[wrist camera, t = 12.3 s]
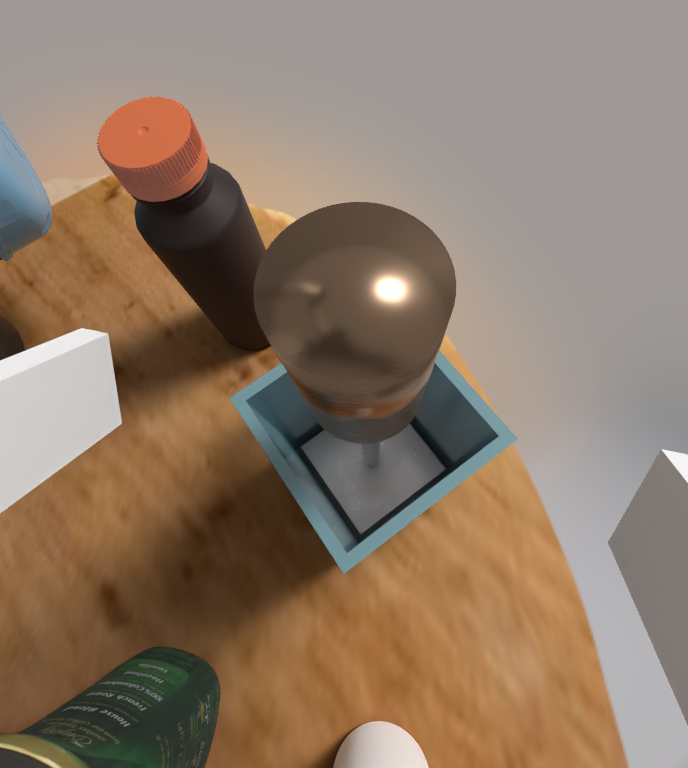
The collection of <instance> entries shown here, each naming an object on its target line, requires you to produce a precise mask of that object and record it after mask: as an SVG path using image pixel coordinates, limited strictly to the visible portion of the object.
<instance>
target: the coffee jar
mask: <svg viewBox="0 0 688 768" xmlns="http://www.w3.org/2000/svg"><path fill="white" fill-rule="evenodd" d="M219 701H220V685H219V681H218V678H217V675H216V673H215V671H214V670H213V668H212V667H211V666H210V665H209V664H208V663H207V662H206V661H205V660H203V659H202V658H200V657H198V656H196V655H194V654H191V653H188V652H185V651H182V650H179V649H175V648H168V647H153V648H150V649H147V650H145V651H143V652H141V653H139V654H138V655H136V656H134V657H133V658H131V659H130V660H128V661H126V662H125V663H123V664H122V665H120V666H119V667H117V668H116V669H115V670H113V671H112V672H110V673H109V674H108V675H106V676H105V677H103V678H102V679H101V680H99V681H98V682H97V683H95V684H94V685H92V686H91V687H89V688H88V689H86V690H85V691H84V692H82V693H81V694H79V695H78V696H76V697H75V698H73V699H72V700H70V701H69V702H67V703H66V704H64V705H62V706H61V707H59V708H58V709H56V710H55V711H53V712H52V713H50V714H49V715H47V716H46V717H44V718H43V719H41V720H40V721H38V722H37V723H35V724H34V725H32V726H30V727H29V728H27V729H25V730H23V731H21V732H19V733H17V734H7V735H0V768H204V767H205V764H206V761H207V758H208V754H209V751H210V747H211V743H212V740H213V736H214V731H215V727H216V722H217V716H218V709H219Z"/></svg>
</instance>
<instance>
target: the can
mask: <svg viewBox="0 0 688 768" xmlns="http://www.w3.org/2000/svg"><path fill="white" fill-rule="evenodd" d="M333 768H428V764H427V761H426V759H425V756H424V754H423V752H422V750H421V748H420V747H419V745H418V744H417V742H416V741H415V740H414V739H413V738H412V736H411V735H410V734H408V733H407V732H406V731H405V730H403V729H402V728H400V727H399V726H397V725H394V724H392V723H388V722H382V721H375V722H369V723H366V724H363V725H361V726H359V727H358V728H356V729H355V730H353V731H352V732H351V733H350V734H349V735H348V736H347V737H346V739H345V740H344V741H343V743H342V745H341V746H340V748H339V751H338V753H337V756H336V759H335V762H334V767H333Z"/></svg>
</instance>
